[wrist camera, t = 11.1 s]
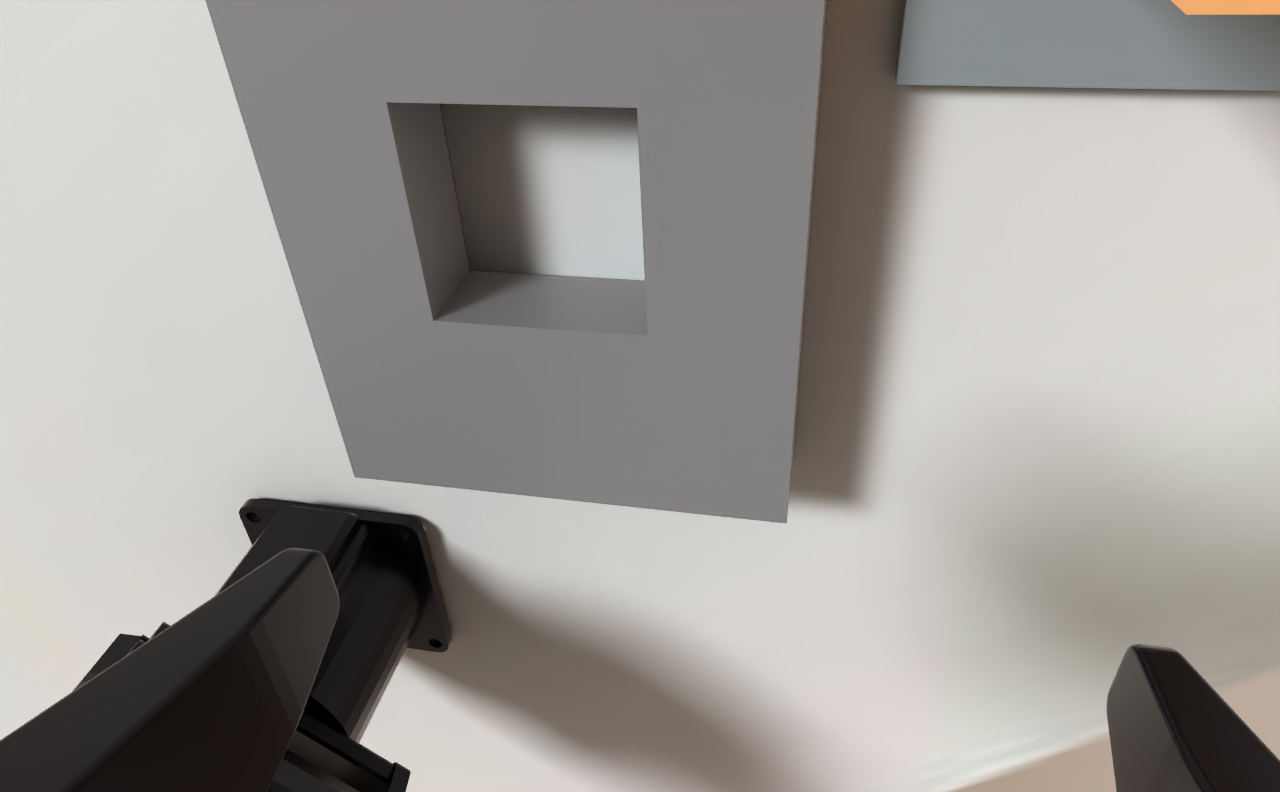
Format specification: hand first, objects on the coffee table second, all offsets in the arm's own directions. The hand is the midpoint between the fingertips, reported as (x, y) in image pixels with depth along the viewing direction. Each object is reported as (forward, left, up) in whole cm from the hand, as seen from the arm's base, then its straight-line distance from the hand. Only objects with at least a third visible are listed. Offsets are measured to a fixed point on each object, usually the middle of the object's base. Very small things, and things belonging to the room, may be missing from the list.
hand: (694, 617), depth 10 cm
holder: (0, +5, -13) cm, 14 cm away
